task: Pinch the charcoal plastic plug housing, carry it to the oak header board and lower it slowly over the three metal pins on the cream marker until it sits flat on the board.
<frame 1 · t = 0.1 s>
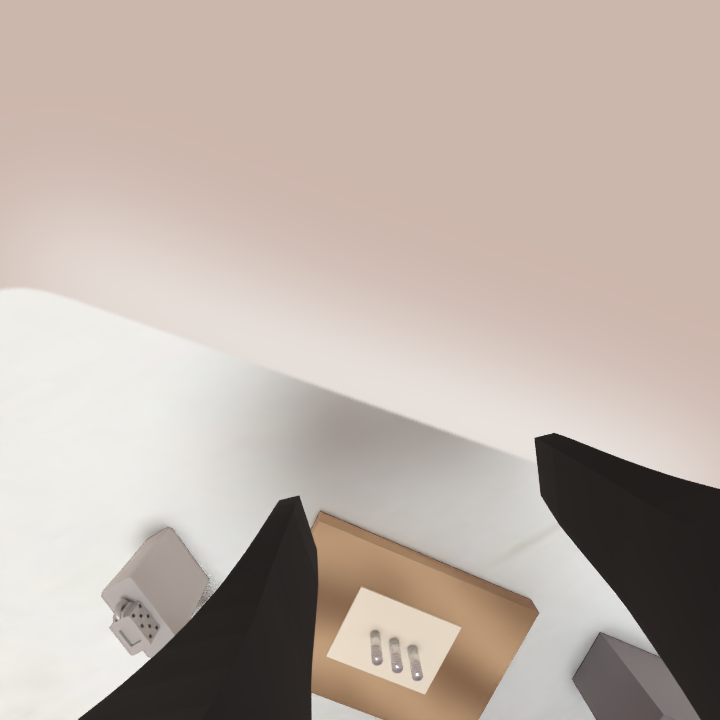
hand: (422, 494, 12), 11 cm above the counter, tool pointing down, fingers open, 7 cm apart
header board: (391, 626, 24), on the counter
plug housing: (627, 673, 25), on the counter
lighter: (194, 578, 24), on the counter
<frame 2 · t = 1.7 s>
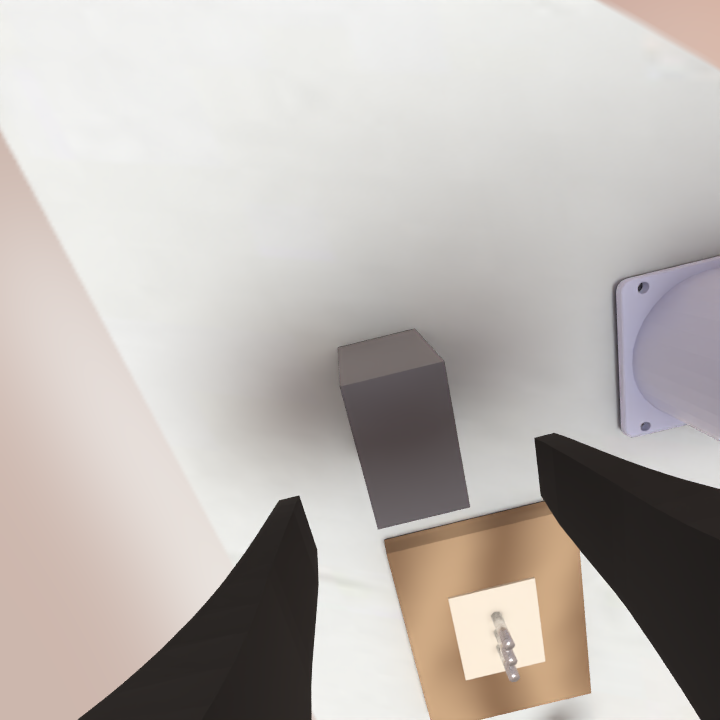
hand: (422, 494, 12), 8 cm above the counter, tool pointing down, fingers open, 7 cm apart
header board: (491, 614, 24), on the counter
plug housing: (389, 397, 19), on the counter
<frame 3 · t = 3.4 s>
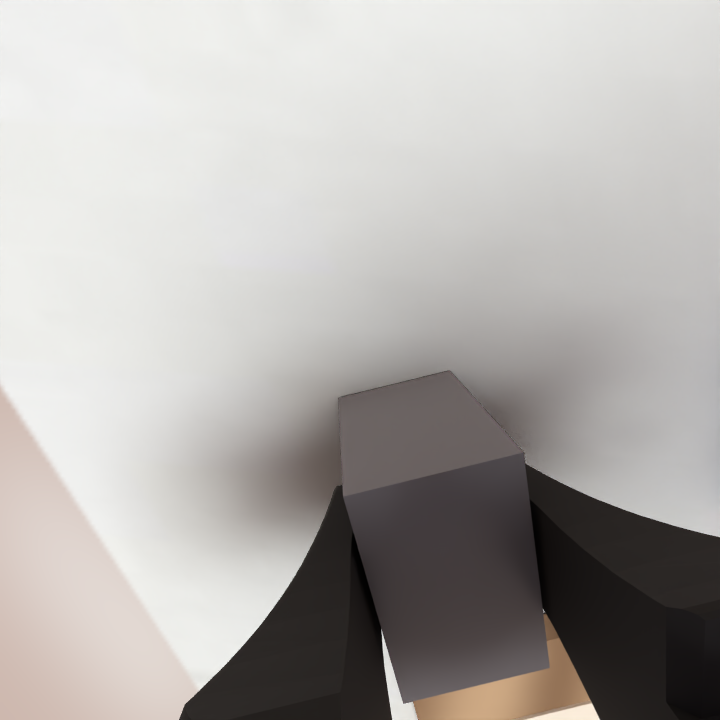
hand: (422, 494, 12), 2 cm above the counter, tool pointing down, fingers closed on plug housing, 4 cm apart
plug housing: (412, 465, 13), on the counter, touching gripper
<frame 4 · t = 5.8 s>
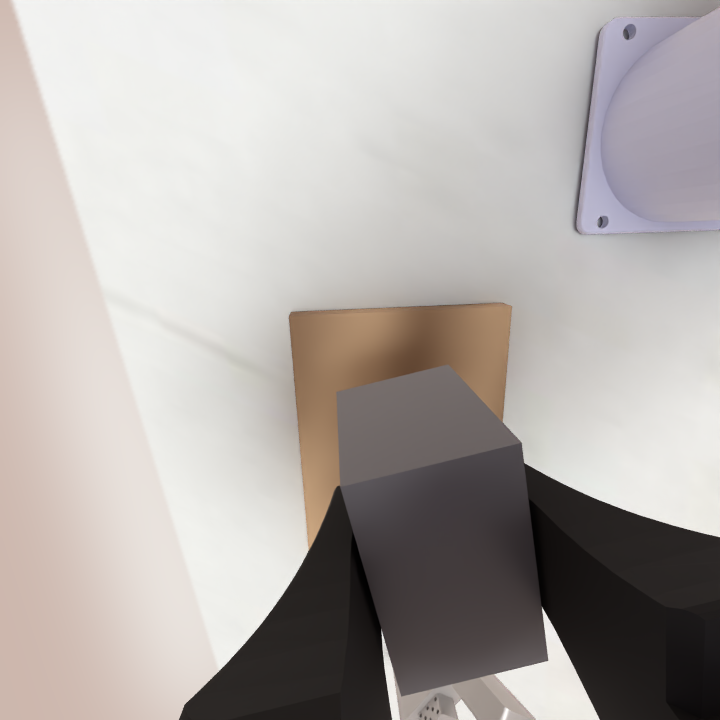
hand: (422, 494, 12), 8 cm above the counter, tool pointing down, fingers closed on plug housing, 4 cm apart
header board: (398, 441, 21), on the counter
plug housing: (410, 459, 13), point 7 cm above the counter, touching gripper
lighter: (430, 610, 25), on the counter
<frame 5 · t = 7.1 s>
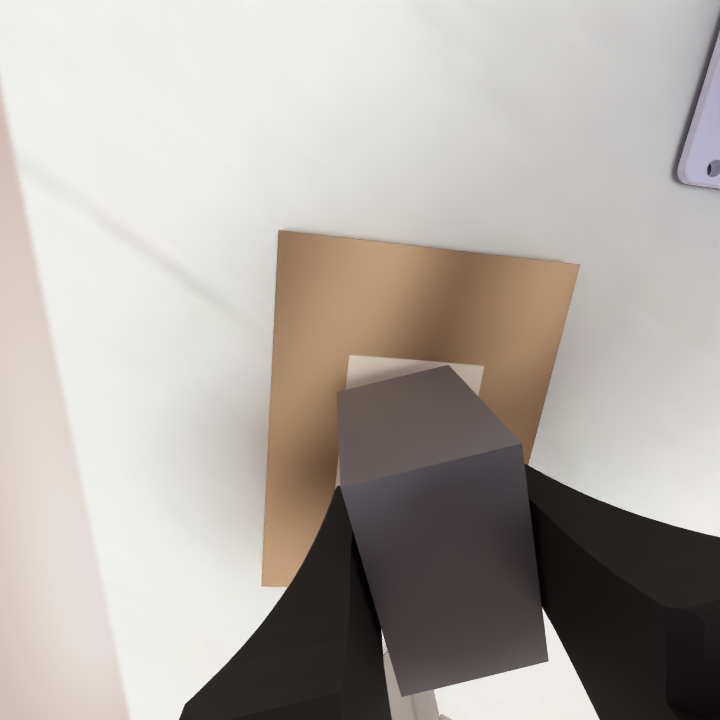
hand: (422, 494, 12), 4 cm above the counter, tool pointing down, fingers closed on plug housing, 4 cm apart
header board: (400, 429, 16), on the counter
plug housing: (410, 460, 13), point 3 cm above the counter, touching gripper
lighter: (405, 649, 20), on the counter
when the fingers open (3 cm above the counter, at t = 8.2 s): plug housing stays where it is, resting on header board.
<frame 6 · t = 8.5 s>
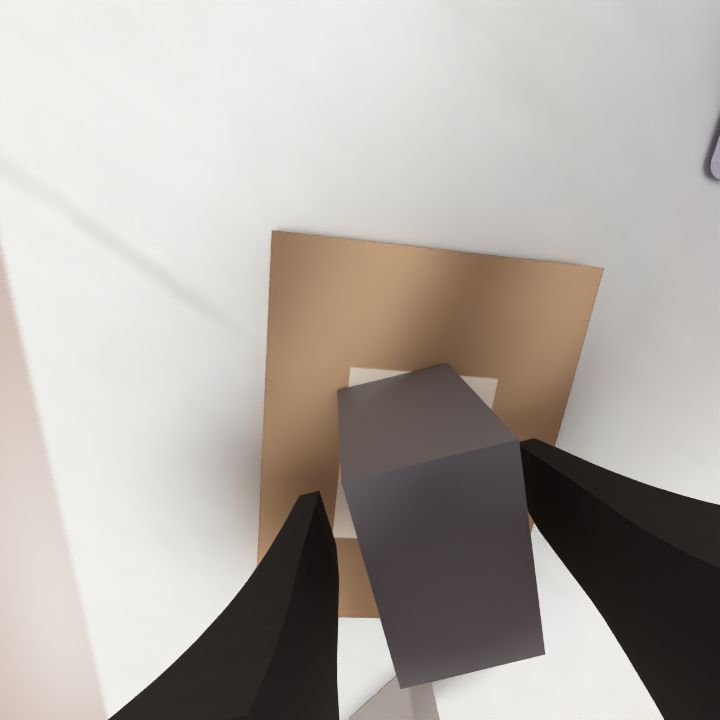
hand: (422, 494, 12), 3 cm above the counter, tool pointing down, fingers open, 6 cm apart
header board: (405, 446, 15), on the counter
plug housing: (410, 457, 14), point 1 cm above the counter, touching header board
lighter: (410, 678, 18), on the counter
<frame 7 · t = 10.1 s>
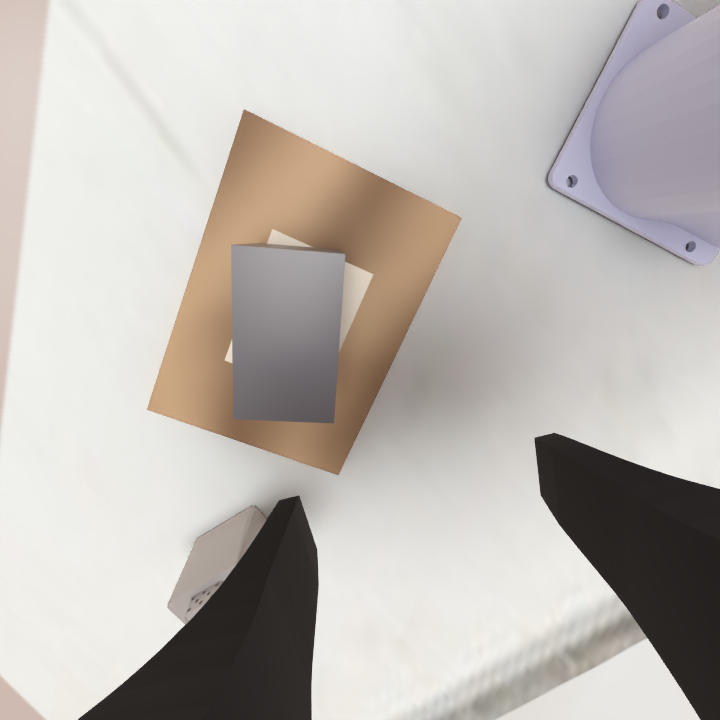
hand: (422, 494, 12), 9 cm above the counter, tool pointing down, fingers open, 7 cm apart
header board: (299, 313, 19), on the counter
plug housing: (297, 314, 18), point 1 cm above the counter, touching header board
lighter: (255, 517, 23), on the counter
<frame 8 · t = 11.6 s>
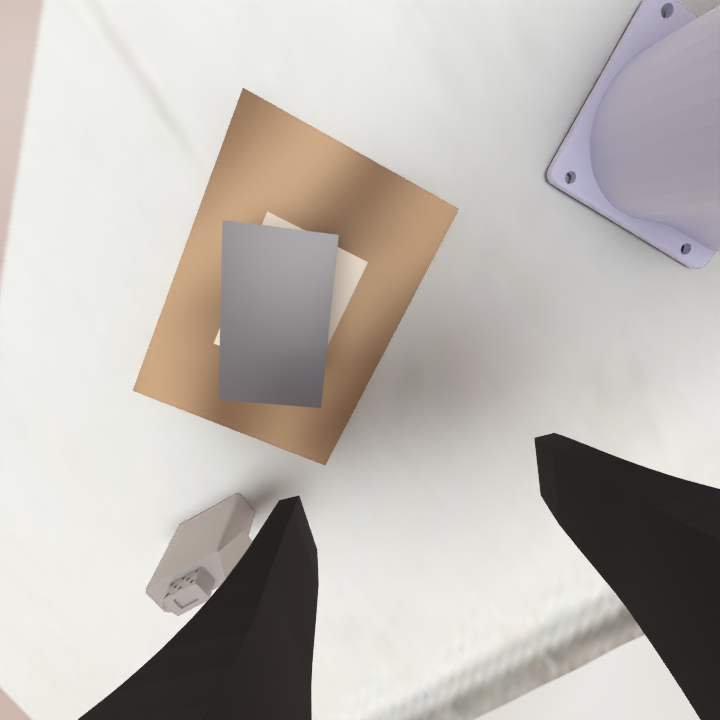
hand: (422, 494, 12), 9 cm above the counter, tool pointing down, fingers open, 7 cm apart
header board: (291, 299, 19), on the counter
plug housing: (289, 299, 18), point 1 cm above the counter, touching header board
lighter: (239, 505, 23), on the counter
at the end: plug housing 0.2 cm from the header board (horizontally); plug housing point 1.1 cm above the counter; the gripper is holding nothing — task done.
